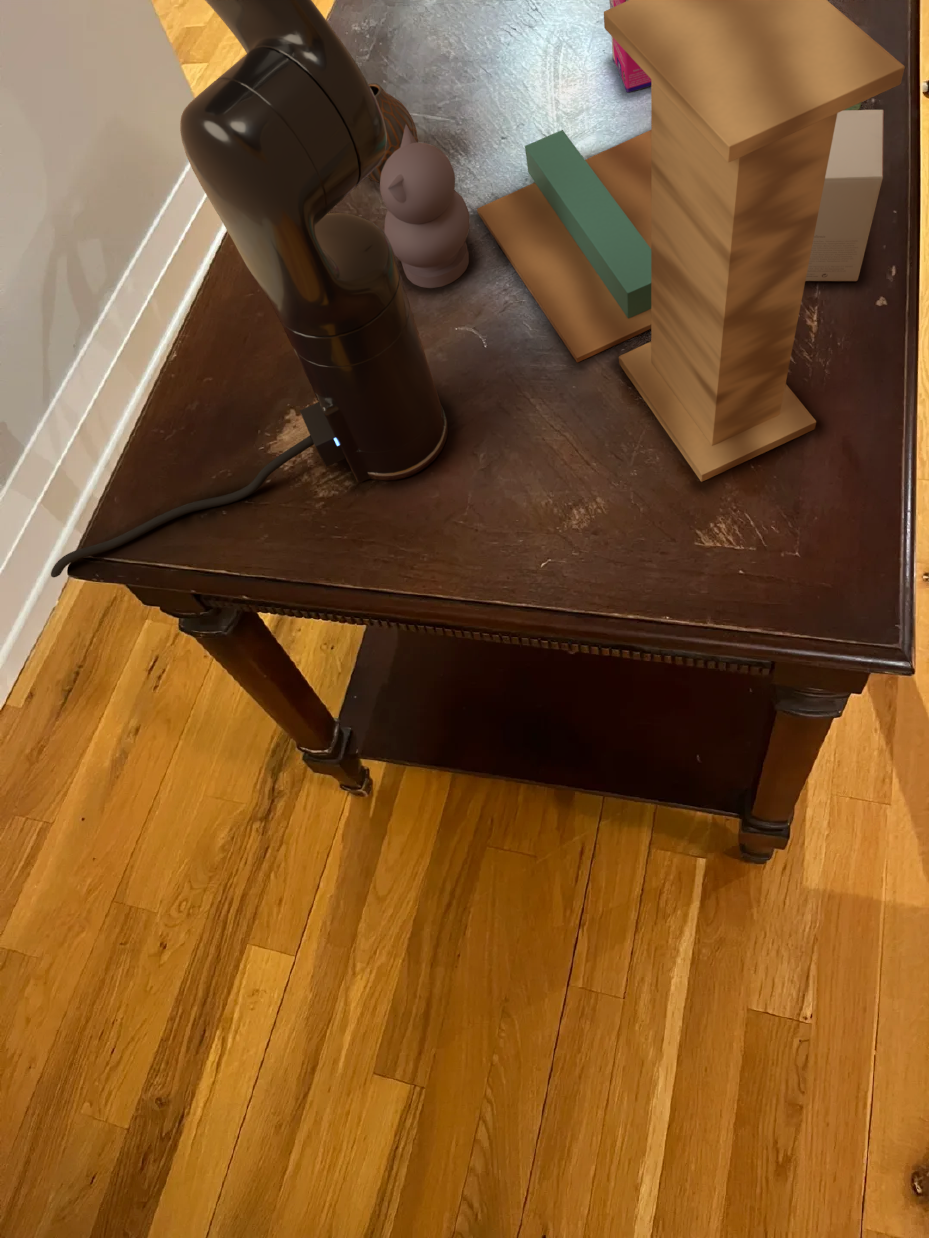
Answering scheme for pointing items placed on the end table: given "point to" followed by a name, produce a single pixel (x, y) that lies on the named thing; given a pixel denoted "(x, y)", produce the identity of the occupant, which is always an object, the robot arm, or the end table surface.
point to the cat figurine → (424, 214)
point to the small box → (848, 196)
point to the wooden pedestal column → (736, 205)
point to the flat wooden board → (576, 251)
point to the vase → (391, 125)
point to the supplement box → (628, 64)
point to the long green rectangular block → (593, 220)
